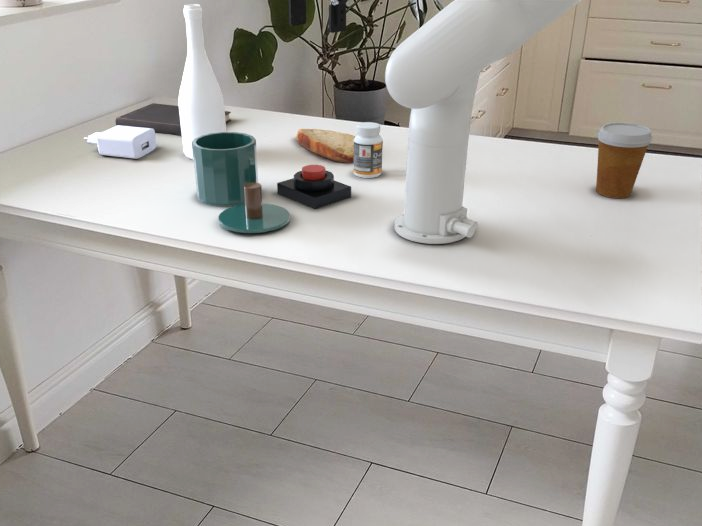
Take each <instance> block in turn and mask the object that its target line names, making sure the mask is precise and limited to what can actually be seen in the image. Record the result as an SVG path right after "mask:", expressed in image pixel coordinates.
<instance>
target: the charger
mask: <svg viewBox="0 0 702 526" xmlns="http://www.w3.org/2000/svg"><path fill="white" fill-rule="evenodd" d="M83 140H86V142H87V144H88V145H91V146H97V150H98V153H99V154H100V156H108V157H117V158H125V159H136V160H139V159H140V158H142V157H144V156H146V155H148V154H149V153H151V152H153V151H154V150H156V148H157V137H156V132H155V130H154V129H152V128H141V127H131V126H120V125H117V126H116V125H114V126H112V127H111V128H108V129H106V130H103V131H101V132H100V131H99V132H98V131H96V132H94V133H91V134H88V135H87V136H86V137H85V136H84V137H83Z"/></svg>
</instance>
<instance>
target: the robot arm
mask: <svg viewBox="0 0 702 526" xmlns="http://www.w3.org/2000/svg"><path fill="white" fill-rule="evenodd" d="M582 1H583V0H453V1H451V2H450V3H449V4H447V5H446V6H445V7H444V8H443V9H441V10H440V11H438V12H437V13H436V14H435V15H434V16H433V17H432V18H430V19H429V20H428V21H426V23H425V22H424V24H422V26H421V27H419V28H418V29H417V30H415V31H414V32H413V33H412V34H411V35H409V36H408V37H406V39H404V40H403V41H402V42H400V43H399V45H398V46H396V48H395V49H394V50H393V51H392V53H391V55H390V56H389V57H388V60H387V62H386V66H385V72H384V81H385V86H386V89H387V92H388V93H389V96H390V97H391V98H392V99H393V100H394V101H395V102H396V103H397V104H399V105H401V106H402V107H404V108H408V109H410V115H409V124H408V137H407V153H406V172H405V173H406V174H405V175H406V176H405V191H404V192H405V193H404V194H405V195H404V211H403V214H401V215H399V216H398V217H397V218H396V219H395V221H394V231H395V233H396V234H397V235H399V236H400V237H401V238H403V239H405V240H408V241H412V242H415V243H419V244H420V243H421V244H427V245H442V244H443V245H444V244H451V243H455V242H458V241H460V240H463V239H465V238H469V239H471V238H472V237H474V235H475V232H476V229H477V228H478V225H479V223H478V221H476V220H473V219H469V218H468V208H467V207H465V206H463V202H464V191H465V182H466V170H467V159H468V149H469V139H470V131H471V130H470V129H471V121H472V114H473V107H474V102H475V98H476V97H475V96H476V92H477V88H478V84H479V80H480V72H481V71H483V70H484V69H486V68H487V67H489V66H490V65H492V64H493V63H495V62H497V61H499V60H502V59H504V58H507V57H509V56H510V55H512V54H513V53H515V52H516V51H518V50H519V49H520V48H521V47H522V46H524V45H525V44H526V43H527V42H528V41H530V40H531V39H532V38H533V37H535V36H536V35H537V34H538V33H540V32H541V31H543V30H544V29H545V28H547V27H548V26H550V25H551V24H553V23H554V22H555V21H557V20H558V19H560V18H562V16H563V15H565V14H566V13H567V12H569V11H570V10H571V9H573V8H574V7H575V6H576V5H578V4H579V3H581V2H582ZM330 3H331V4H328V31H329V33H332V34H335V33H341V32H346V30H347V5H348V4H349V3H350V0H330ZM288 16H289V17H288V18H289V20H288V21H289V25H290V26H292V27H295V26H296V27H297V26H303V25H306V24H307V0H288Z"/></svg>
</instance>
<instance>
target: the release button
mask: <svg viewBox="0 0 702 526" xmlns="http://www.w3.org/2000/svg"><path fill="white" fill-rule="evenodd" d="M325 170H326V167H325V166H324V165H321V164H306V165H304V166H302V167H301V171H302V178H304V179H308V180H320V179H323V178H325V177H326V175H325Z"/></svg>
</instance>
